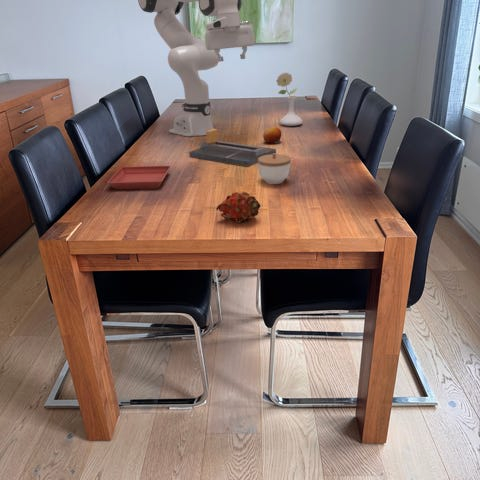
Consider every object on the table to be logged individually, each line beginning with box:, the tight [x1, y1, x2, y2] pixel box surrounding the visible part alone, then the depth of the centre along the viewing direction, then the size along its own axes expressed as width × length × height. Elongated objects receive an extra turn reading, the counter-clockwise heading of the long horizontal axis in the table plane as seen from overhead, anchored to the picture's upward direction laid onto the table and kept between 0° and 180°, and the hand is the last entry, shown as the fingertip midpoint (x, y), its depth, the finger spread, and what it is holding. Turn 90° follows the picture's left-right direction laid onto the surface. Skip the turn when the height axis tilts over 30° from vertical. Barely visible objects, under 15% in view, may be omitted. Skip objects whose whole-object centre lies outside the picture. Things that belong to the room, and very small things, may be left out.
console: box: [188, 140, 277, 168], centre depth 186 cm, size 28×20×4 cm
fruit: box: [262, 126, 282, 145], centre depth 202 cm, size 8×8×8 cm
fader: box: [205, 128, 219, 144], centre depth 190 cm, size 2×5×7 cm, turn 145°
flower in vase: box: [276, 72, 303, 127], centre depth 229 cm, size 13×11×25 cm
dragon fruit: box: [216, 191, 261, 224], centre depth 127 cm, size 8×8×12 cm
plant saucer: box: [107, 165, 172, 190], centre depth 160 cm, size 18×18×3 cm
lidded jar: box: [257, 152, 292, 185], centre depth 155 cm, size 11×11×9 cm
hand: (232, 60), depth 190 cm, fingers open, 8 cm apart
